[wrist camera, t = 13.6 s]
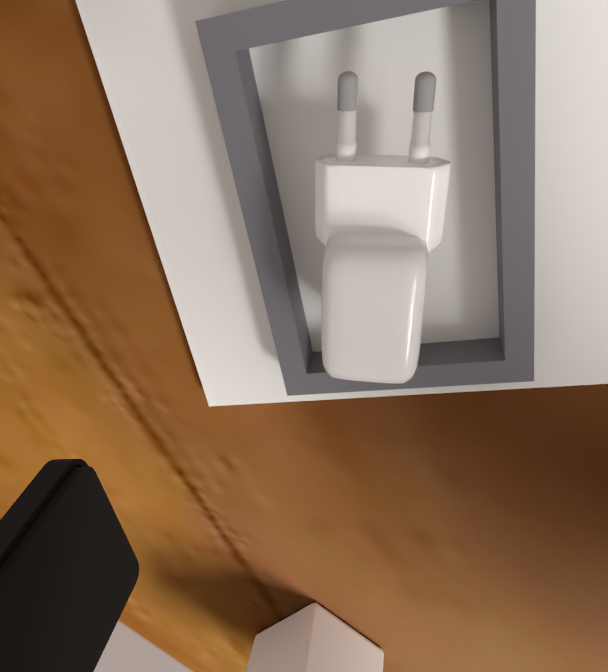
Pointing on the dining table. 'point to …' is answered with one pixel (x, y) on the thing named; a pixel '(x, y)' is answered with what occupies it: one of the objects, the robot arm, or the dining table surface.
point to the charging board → (371, 139)
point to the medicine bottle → (313, 646)
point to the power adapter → (377, 243)
